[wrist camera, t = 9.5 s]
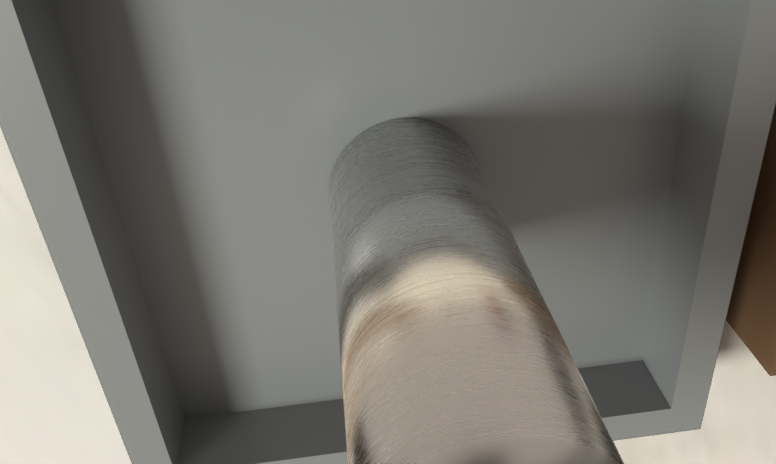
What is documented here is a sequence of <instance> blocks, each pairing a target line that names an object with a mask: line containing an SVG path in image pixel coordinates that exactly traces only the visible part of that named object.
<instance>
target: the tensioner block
mask: <svg viewBox="0 0 776 464" xmlns="http://www.w3.org/2000/svg"><path fill="white" fill-rule="evenodd" d="M726 320H727V322H728V323H729V324H730V325H731V327H732V328H733V329H734V331H735V332H736V333H737V334H738V336H739V337H740V338H741V339H742V341H743V342H744V343H745V345H746V346H747V347H748V348H749V350H750V351H751V352H752V354H753V355H754V356H755V357H756V359H757V360H758V361H759V362H760V364H761V365H762V366H763V368H764V369H765V370H766V371H767V373H768V374H769V375H770V376H773V375H776V103H775V108H774V112H773V116H772V121H771V125H770V129H769V134H768V138H767V142H766V147H765V151H764V155H763V160H762V164H761V168H760V173H759V177H758V181H757V186H756V190H755V194H754V199H753V203H752V207H751V212H750V216H749V221H748V225H747V229H746V234H745V238H744V242H743V247H742V251H741V255H740V260H739V264H738V268H737V273H736V277H735V281H734V286H733V290H732V294H731V299H730V303H729V307H728V312H727V316H726Z"/></svg>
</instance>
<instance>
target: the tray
mask: <svg viewBox="0 0 776 464" xmlns="http://www.w3.org/2000/svg"><path fill="white" fill-rule="evenodd" d="M775 103H776V0H0V127H1V129H2V132H3V135H4V137H5V140H6V142H7V145H8V147H9V150H10V152H11V155H12V158H13V160H14V163H15V165H16V168H17V170H18V173H19V176H20V178H21V181H22V183H23V186H24V188H25V191H26V193H27V196H28V199H29V201H30V204H31V206H32V209H33V211H34V214H35V217H36V219H37V222H38V224H39V227H40V229H41V232H42V235H43V237H44V240H45V242H46V245H47V247H48V250H49V252H50V255H51V258H52V260H53V263H54V265H55V268H56V270H57V273H58V276H59V278H60V281H61V283H62V286H63V288H64V291H65V293H66V296H67V299H68V301H69V304H70V306H71V309H72V311H73V314H74V317H75V319H76V322H77V324H78V327H79V329H80V332H81V334H82V337H83V340H84V342H85V345H86V347H87V350H88V352H89V355H90V358H91V360H92V363H93V365H94V368H95V370H96V373H97V375H98V378H99V381H100V383H101V386H102V388H103V391H104V393H105V396H106V399H107V401H108V404H109V406H110V409H111V411H112V414H113V417H114V419H115V422H116V424H117V427H118V429H119V432H120V434H121V437H122V440H123V442H124V445H125V447H126V450H127V452H128V455H129V458H130V460H131V463H132V464H348V459H347V445H346V430H345V416H344V402H343V387H342V373H341V359H340V344H339V330H338V316H337V301H336V287H335V273H334V258H333V244H332V230H331V216H330V201H329V180H330V176H331V171H332V169H333V166H334V164H335V162H336V160H337V158H338V156H339V154H340V153H341V152H342V150H343V149H344V148H345V146H346V145H347V144H348V143H349V142H350V141H351V140H352V139H353V138H354V137H356V136H357V135H358V134H360V133H361V132H363V131H364V130H366V129H367V128H369V127H371V126H373V125H376V124H378V123H381V122H384V121H387V120H391V119H397V118H422V119H427V120H431V121H434V122H437V123H440V124H442V125H444V126H446V127H448V128H450V129H451V130H453V131H454V132H456V133H457V134H458V135H459V136H460V137H461V138H462V139H463V140H464V141H465V142H466V143H467V144H468V146H469V147H470V149H471V150H472V152H473V154H474V156H475V158H476V160H477V162H478V164H479V166H480V168H481V170H482V172H483V174H484V176H485V178H486V180H487V182H488V185H489V187H490V189H491V191H492V193H493V195H494V197H495V199H496V201H497V203H498V205H499V207H500V209H501V211H502V213H503V215H504V218H505V220H506V222H507V224H508V226H509V228H510V230H511V232H512V234H513V236H514V238H515V240H516V242H517V244H518V246H519V248H520V251H521V253H522V255H523V257H524V259H525V261H526V263H527V265H528V267H529V269H530V271H531V273H532V275H533V277H534V279H535V281H536V284H537V286H538V288H539V290H540V292H541V294H542V296H543V298H544V300H545V302H546V304H547V306H548V308H549V310H550V312H551V314H552V317H553V319H554V321H555V323H556V325H557V327H558V329H559V331H560V333H561V335H562V337H563V339H564V341H565V343H566V345H567V347H568V350H569V352H570V354H571V356H572V358H573V360H574V362H575V364H576V366H577V368H578V370H579V372H580V374H581V376H582V378H583V380H584V383H585V385H586V387H587V389H588V391H589V393H590V395H591V397H592V399H593V401H594V403H595V405H596V407H597V409H598V411H599V413H600V416H601V418H602V420H603V422H604V424H605V426H606V428H607V430H608V432H609V434H610V436H611V438H612V440H613V441H614V440H621V439H629V438H636V437H644V436H651V435H659V434H666V433H674V432H681V431H689V430H696V429H701V424H702V420H703V416H704V411H705V407H706V403H707V398H708V394H709V390H710V385H711V381H712V377H713V372H714V368H715V364H716V359H717V355H718V351H719V346H720V342H721V338H722V333H723V329H724V325H725V320H726V316H727V312H728V307H729V303H730V299H731V294H732V290H733V286H734V281H735V277H736V273H737V268H738V264H739V260H740V255H741V251H742V247H743V242H744V238H745V234H746V229H747V225H748V221H749V216H750V212H751V207H752V203H753V199H754V194H755V190H756V186H757V181H758V177H759V173H760V168H761V164H762V160H763V155H764V151H765V147H766V142H767V138H768V134H769V129H770V125H771V121H772V116H773V112H774V108H775Z"/></svg>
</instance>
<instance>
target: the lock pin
mask: <svg viewBox="0 0 776 464" xmlns="http://www.w3.org/2000/svg"><path fill="white" fill-rule="evenodd" d="M329 201H330V216H331V230H332V244H333V258H334V273H335V287H336V301H337V316H338V330H339V344H340V359H341V373H342V387H343V402H344V416H345V430H346V445H347V459H348V464H624V463H623V461H622V459H621V457H620V455H619V453H618V451H617V449H616V446H615V444H614V442H613V440H612V438H611V436H610V434H609V432H608V430H607V428H606V426H605V424H604V422H603V420H602V418H601V416H600V413H599V411H598V409H597V407H596V405H595V403H594V401H593V399H592V397H591V395H590V393H589V391H588V389H587V387H586V385H585V383H584V380H583V378H582V376H581V374H580V372H579V370H578V368H577V366H576V364H575V362H574V360H573V358H572V356H571V354H570V352H569V350H568V347H567V345H566V343H565V341H564V339H563V337H562V335H561V333H560V331H559V329H558V327H557V325H556V323H555V321H554V319H553V317H552V314H551V312H550V310H549V308H548V306H547V304H546V302H545V300H544V298H543V296H542V294H541V292H540V290H539V288H538V286H537V284H536V281H535V279H534V277H533V275H532V273H531V271H530V269H529V267H528V265H527V263H526V261H525V259H524V257H523V255H522V253H521V251H520V248H519V246H518V244H517V242H516V240H515V238H514V236H513V234H512V232H511V230H510V228H509V226H508V224H507V222H506V220H505V218H504V215H503V213H502V211H501V209H500V207H499V205H498V203H497V201H496V199H495V197H494V195H493V193H492V191H491V189H490V187H489V185H488V182H487V180H486V178H485V176H484V174H483V172H482V170H481V168H480V166H479V164H478V162H477V160H476V158H475V156H474V154H473V152H472V150H471V149H470V147H469V146H468V144H467V143H466V142H465V141H464V140H463V139H462V138H461V137H460V136H459V135H458V134H457V133H456V132H454V131H453V130H451V129H450V128H448V127H446V126H444V125H442V124H440V123H437V122H434V121H431V120H427V119H422V118H397V119H391V120H387V121H384V122H381V123H378V124H376V125H373V126H371V127H369V128H367V129H366V130H364V131H363V132H361V133H360V134H358V135H357V136H356V137H354V138H353V139H352V140H351V141H350V142H349V143H348V144H347V145H346V146H345V148H344V149H343V150H342V152H341V153H340V154H339V156H338V158H337V160H336V162H335V164H334V166H333V169H332V171H331V176H330V180H329Z"/></svg>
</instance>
